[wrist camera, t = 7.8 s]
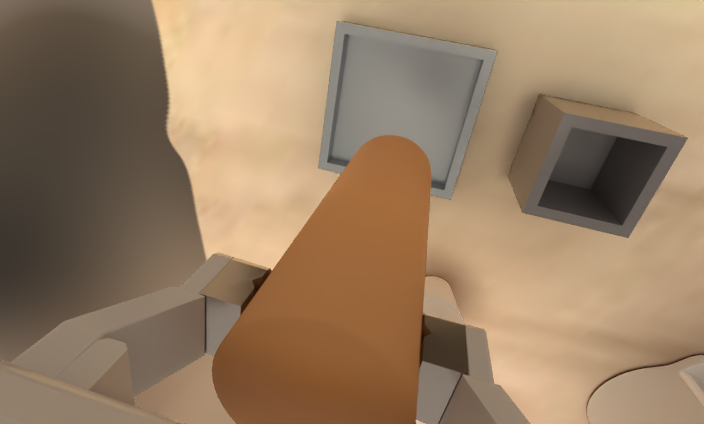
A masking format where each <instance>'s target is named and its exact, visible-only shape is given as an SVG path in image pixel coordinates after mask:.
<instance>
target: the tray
mask: <svg viewBox="0 0 704 424" xmlns="http://www.w3.org/2000/svg"><path fill="white" fill-rule="evenodd" d="M496 54H497V51H496V50H494V49H488V48H483V47H477V46H472V45H467V44H461V43H456V42H451V41H445V40H440V39H434V38H429V37H424V36H418V35H413V34H408V33H402V32H397V31H391V30H386V29H381V28H375V27H370V26H365V25H359V24H354V23H348V22H340V21H337V23H336V31H335V39H334V47H333V55H332V62H331V70H330V78H329V86H328V94H327V102H326V110H325V118H324V126H323V134H322V142H321V150H320V158H319V166H318V168H319V169H323V170H328V171H332V172H336V173H340V174H341V173H342V172H343V171H344V169H345V168H346V166H347V165H348V163H349V162H350V161H351V159H352V158H353V156H354V155H355V154H356V152H357V151H358V150H359V148H360V147H361V146H362V145H363V144H365V143H366V142H367V141H369V140H371V139H373V138H375V137H378V136H382V135H397V136H402V137H405V138H407V139H409V140H411V141H413V142H414V143H416V144H417V145H418V146H419V147H420V148H421V149H422V150H423V151H424V153H425V154H426V156H427V158H428V160H429V163H430V166H431V191H430V195H431V196H435V197H440V198H444V199H448V200H451V197H452V194H453V190H454V187H455V184H456V181H457V178H458V175H459V171H460V168H461V165H462V162H463V159H464V156H465V152H466V149H467V146H468V143H469V140H470V137H471V133H472V130H473V127H474V124H475V121H476V118H477V114H478V111H479V108H480V105H481V102H482V99H483V95H484V92H485V89H486V86H487V83H488V80H489V76H490V73H491V70H492V67H493V64H494V61H495V57H496Z"/></svg>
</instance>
